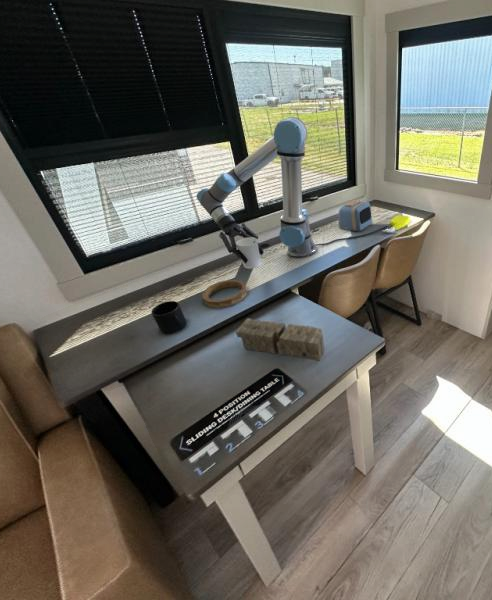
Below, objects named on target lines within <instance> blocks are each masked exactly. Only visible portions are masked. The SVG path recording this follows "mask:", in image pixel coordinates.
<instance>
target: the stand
mask: <svg viewBox="0 0 492 600" xmlns="http://www.w3.org/2000/svg"><path fill="white" fill-rule="evenodd" d="M225 288H226V289H227V288H239V289H240V290H239V291H238V293H236V294H234V295H232V296H229V297H226V298H222V299H211V298H210V296H212V295H213V294H214V293H215V292H218V291H220V290H222V289H225ZM247 290H248V289H247V286H246V282H245V281H242V280H240V279H226V280H221V281H218V282H215V283H213V284H211V285H209V286H208V287H206V288H205V290H204V291H202V300H203V303H204V305H206V306H208V307H209V308H214V309H215V308H216V309H217V308H218V309H223V308H227V307H230V306H233V305H236V304H237V303H239V302H241V301H243V300H244V298H245V297H246V296H247V295H248V291H247Z"/></svg>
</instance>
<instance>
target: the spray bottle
mask: <svg viewBox="0 0 492 600" xmlns="http://www.w3.org/2000/svg"><path fill="white" fill-rule="evenodd" d="M410 221H411V217H410V216H408V215H399V214H398V215H395V216H394V217H393V218H392V219H391V220H390V221H389V224H390V226H391V227H390V228H388V227H386V229H382V232H383V233H388V234H396V231H398V230H400V229H403V228H404V227H406V226H407V225H408V224H409V223H410Z"/></svg>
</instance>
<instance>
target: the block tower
mask: <svg viewBox="0 0 492 600" xmlns="http://www.w3.org/2000/svg"><path fill="white" fill-rule="evenodd" d="M235 334H236V337H237V338H240V339H241V342H242V345H243V349H244V350H248V351H257V352H264V353H269V354H276V353H277V352H278V354H279V355H282V356H288V357H295V358H301V359H303V358H304V357H305V355H306V359H308V360H315V361H321V359H322V356H323V355H324V353H325V343H324V335H323V333H322V328H321V327H315V326H308V325H298V324H292V323H288V324H287V326H286V323H285V322H277V321H271V320H270V321H269V320H261V319H252V318H249V317H247V318H246V319H245V320H244V321H243V323H241V325H240V326H239V327H238V328H237V329H236V331H235Z"/></svg>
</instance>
